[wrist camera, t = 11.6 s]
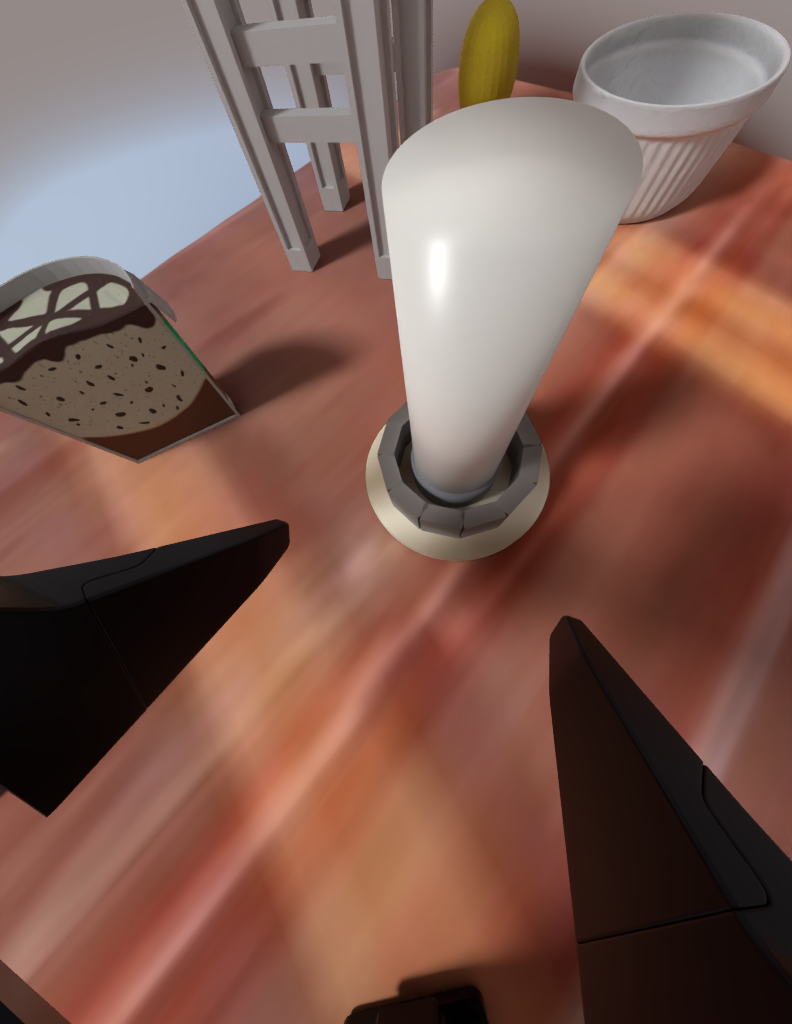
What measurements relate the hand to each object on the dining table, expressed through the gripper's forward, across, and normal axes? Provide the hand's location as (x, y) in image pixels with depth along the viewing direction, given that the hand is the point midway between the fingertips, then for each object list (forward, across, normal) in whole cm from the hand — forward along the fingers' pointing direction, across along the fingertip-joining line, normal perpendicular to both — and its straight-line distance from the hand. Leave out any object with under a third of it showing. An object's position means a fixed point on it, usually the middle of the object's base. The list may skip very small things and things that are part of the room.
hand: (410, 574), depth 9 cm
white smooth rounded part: (+12, 0, 0) cm, 12 cm away
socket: (+12, 0, +1) cm, 13 cm away
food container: (+12, +24, +2) cm, 27 cm away
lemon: (+41, +8, -27) cm, 50 cm away
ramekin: (+36, -7, -22) cm, 42 cm away
